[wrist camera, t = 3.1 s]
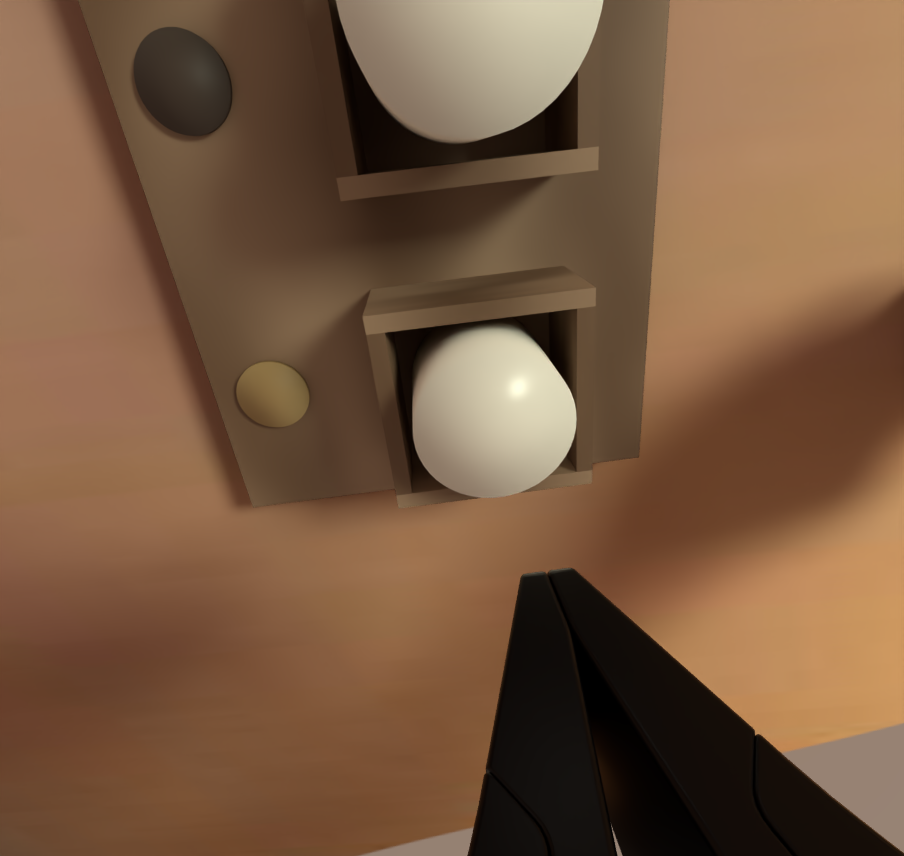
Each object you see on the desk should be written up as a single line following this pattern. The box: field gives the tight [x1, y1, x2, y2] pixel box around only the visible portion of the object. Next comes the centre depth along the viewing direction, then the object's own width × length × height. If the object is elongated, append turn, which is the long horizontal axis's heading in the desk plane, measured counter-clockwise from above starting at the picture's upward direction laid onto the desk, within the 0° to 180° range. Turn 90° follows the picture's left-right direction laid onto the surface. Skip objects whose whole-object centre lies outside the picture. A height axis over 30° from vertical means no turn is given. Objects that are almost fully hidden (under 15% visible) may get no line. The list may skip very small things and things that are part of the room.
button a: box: [412, 317, 577, 498], centre depth 16 cm, size 4×4×4 cm
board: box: [78, 0, 670, 508], centre depth 13 cm, size 15×27×4 cm, turn 6°
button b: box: [336, 0, 603, 145], centre depth 10 cm, size 4×4×4 cm
